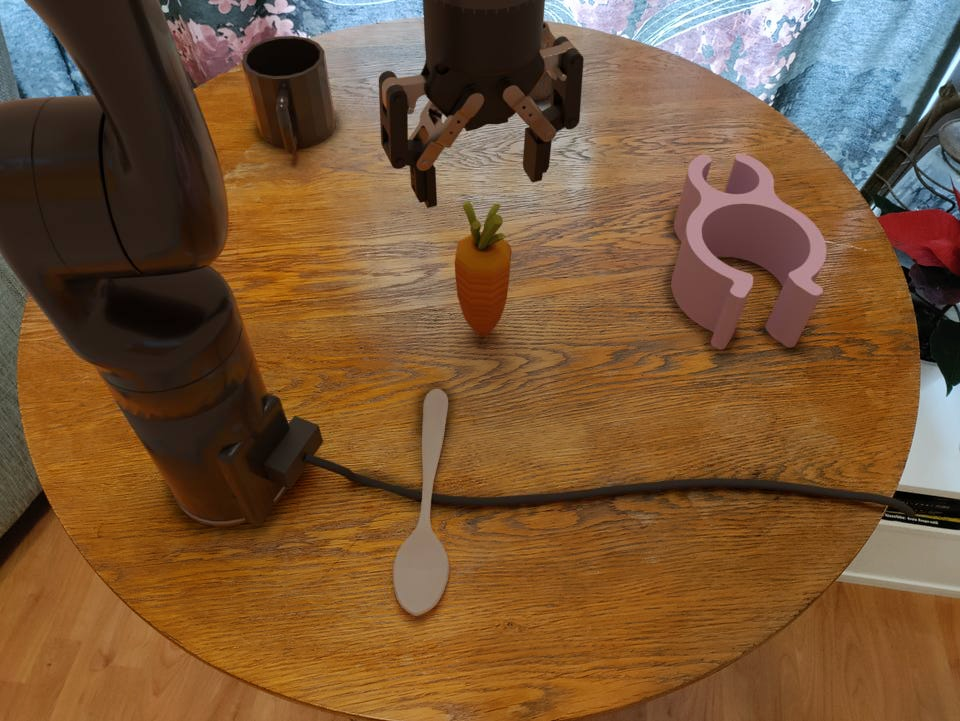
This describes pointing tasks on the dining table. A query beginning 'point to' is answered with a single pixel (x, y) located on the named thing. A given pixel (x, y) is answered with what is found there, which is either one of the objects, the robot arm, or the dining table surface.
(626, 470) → the dining table surface
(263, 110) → the mug
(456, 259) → the carrot
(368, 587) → the dining table surface
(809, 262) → the clip
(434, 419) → the spoon
